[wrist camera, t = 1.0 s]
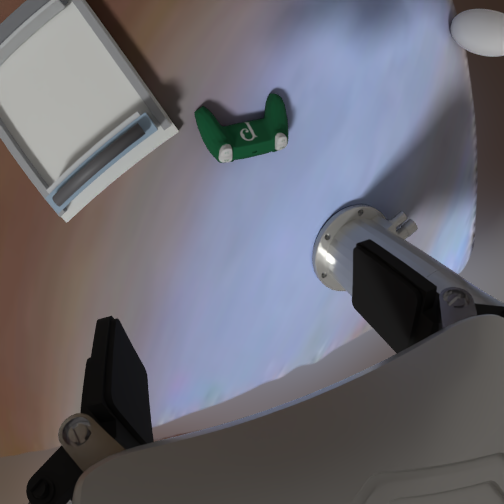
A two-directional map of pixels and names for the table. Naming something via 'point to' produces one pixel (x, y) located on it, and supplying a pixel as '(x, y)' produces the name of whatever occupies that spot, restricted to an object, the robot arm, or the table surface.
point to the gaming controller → (245, 133)
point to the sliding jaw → (99, 159)
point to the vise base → (68, 94)
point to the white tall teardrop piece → (480, 31)
